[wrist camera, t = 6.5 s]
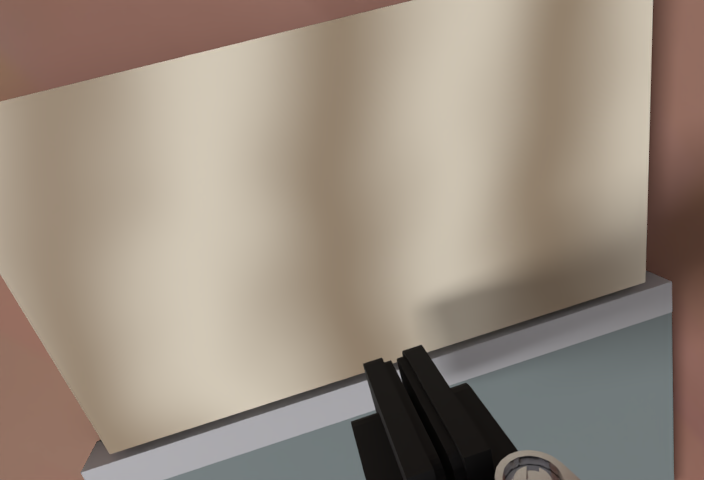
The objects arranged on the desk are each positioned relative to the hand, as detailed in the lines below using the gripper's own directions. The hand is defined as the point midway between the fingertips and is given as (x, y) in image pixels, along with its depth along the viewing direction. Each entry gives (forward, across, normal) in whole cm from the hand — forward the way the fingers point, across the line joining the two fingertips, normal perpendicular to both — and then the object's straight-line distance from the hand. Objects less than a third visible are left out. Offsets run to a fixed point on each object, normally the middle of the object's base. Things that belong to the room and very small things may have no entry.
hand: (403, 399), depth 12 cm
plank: (+3, 0, -5) cm, 6 cm away
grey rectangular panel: (+4, 0, +6) cm, 7 cm away
